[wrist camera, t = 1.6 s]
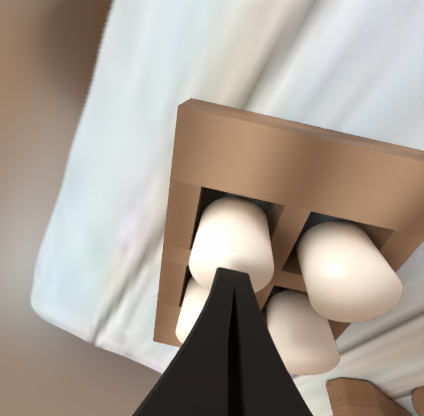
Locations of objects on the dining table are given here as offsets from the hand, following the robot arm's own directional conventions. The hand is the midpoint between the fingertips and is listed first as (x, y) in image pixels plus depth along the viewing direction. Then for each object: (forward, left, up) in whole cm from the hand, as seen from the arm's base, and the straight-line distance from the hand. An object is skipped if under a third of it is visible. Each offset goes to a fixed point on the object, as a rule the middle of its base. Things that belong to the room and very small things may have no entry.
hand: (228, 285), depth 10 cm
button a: (0, 0, -5) cm, 5 cm away
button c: (-6, 0, -4) cm, 8 cm away
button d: (-6, +6, -5) cm, 10 cm away
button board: (-3, +4, -7) cm, 9 cm away
